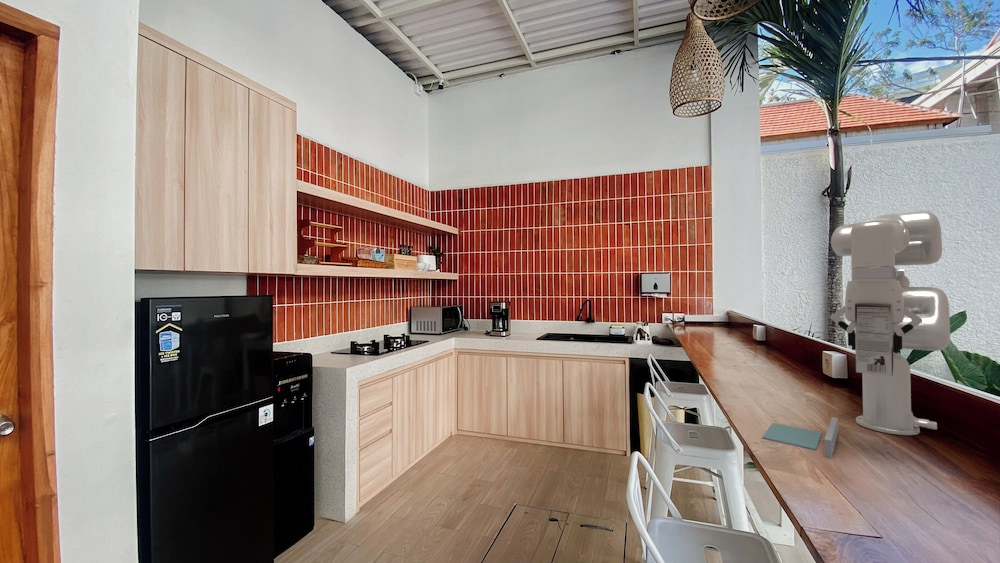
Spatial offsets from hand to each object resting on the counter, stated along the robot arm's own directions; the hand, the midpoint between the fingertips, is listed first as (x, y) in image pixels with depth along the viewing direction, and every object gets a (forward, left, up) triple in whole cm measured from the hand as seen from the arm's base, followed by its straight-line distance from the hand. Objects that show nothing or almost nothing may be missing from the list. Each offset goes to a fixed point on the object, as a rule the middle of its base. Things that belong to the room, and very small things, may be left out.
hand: (874, 350), depth 93 cm
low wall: (+8, 0, -24) cm, 26 cm away
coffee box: (0, 0, -5) cm, 5 cm away
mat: (+16, 0, -24) cm, 29 cm away
